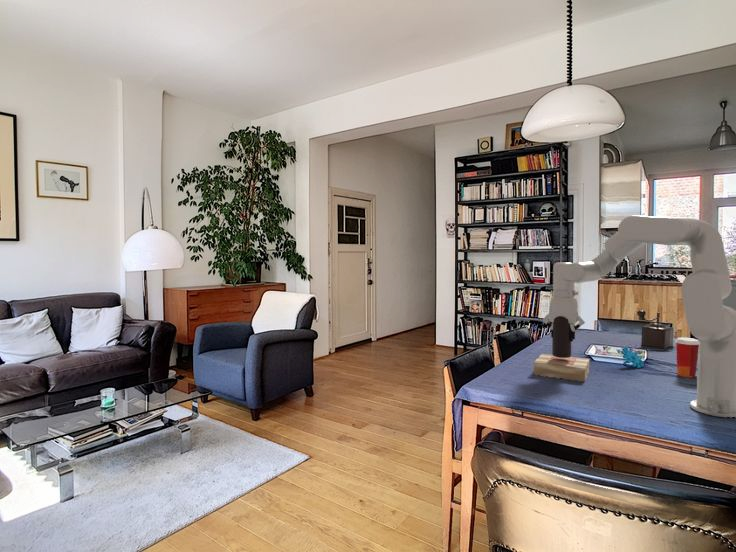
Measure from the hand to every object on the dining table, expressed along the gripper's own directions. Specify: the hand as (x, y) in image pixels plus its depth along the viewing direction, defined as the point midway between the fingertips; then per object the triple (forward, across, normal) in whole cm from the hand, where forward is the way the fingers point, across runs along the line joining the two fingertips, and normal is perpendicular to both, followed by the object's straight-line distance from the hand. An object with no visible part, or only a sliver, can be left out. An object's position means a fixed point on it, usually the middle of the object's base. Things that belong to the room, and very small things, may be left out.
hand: (562, 339), depth 175 cm
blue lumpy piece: (+14, -23, -26) cm, 37 cm away
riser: (+13, 0, 0) cm, 13 cm away
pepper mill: (+14, -31, -73) cm, 80 cm away
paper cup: (+14, -41, -20) cm, 47 cm away
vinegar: (+7, 0, 0) cm, 7 cm away
